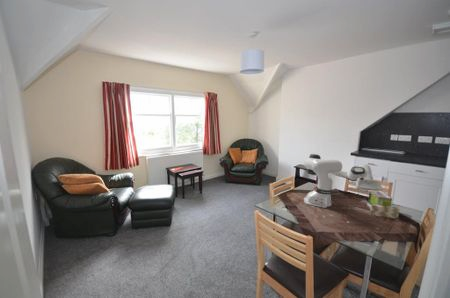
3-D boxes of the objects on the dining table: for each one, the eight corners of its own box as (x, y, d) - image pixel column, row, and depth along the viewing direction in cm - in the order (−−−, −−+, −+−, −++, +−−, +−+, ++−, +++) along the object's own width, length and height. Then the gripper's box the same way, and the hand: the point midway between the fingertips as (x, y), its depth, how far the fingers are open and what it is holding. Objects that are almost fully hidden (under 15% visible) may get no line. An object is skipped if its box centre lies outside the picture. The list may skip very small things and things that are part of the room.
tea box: (389, 215, 160) (392, 198, 157) (374, 214, 162) (378, 196, 159) (379, 206, 175) (382, 190, 171) (366, 205, 177) (369, 189, 174)
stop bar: (370, 215, 161) (372, 205, 159) (369, 213, 163) (370, 204, 162) (397, 218, 156) (399, 209, 154) (395, 216, 159) (397, 207, 157)
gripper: (378, 183, 192) (381, 197, 185) (354, 180, 197) (356, 194, 190) (381, 180, 186) (385, 194, 179) (356, 177, 192) (358, 191, 185)
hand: (370, 194), depth 185 cm, fingers closed
